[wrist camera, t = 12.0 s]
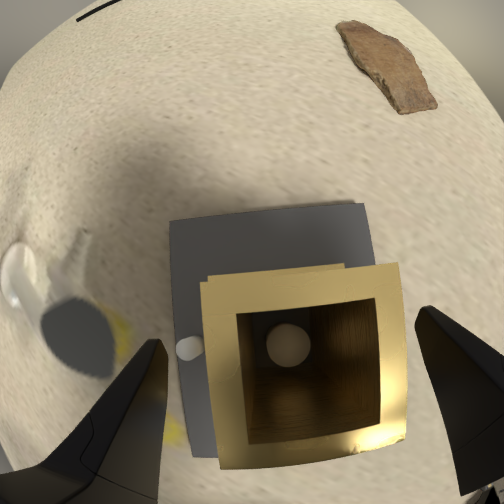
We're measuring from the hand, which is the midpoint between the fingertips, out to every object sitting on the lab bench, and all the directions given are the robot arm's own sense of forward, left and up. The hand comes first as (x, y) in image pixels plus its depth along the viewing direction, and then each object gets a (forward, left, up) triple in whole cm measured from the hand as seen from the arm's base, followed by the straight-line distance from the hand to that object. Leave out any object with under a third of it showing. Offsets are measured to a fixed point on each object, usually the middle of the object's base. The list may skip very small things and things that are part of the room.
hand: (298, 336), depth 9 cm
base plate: (-1, 0, -9) cm, 9 cm away
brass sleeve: (-1, 0, -8) cm, 8 cm away
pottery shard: (+27, -6, -10) cm, 30 cm away
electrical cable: (+41, +35, -9) cm, 55 cm away
